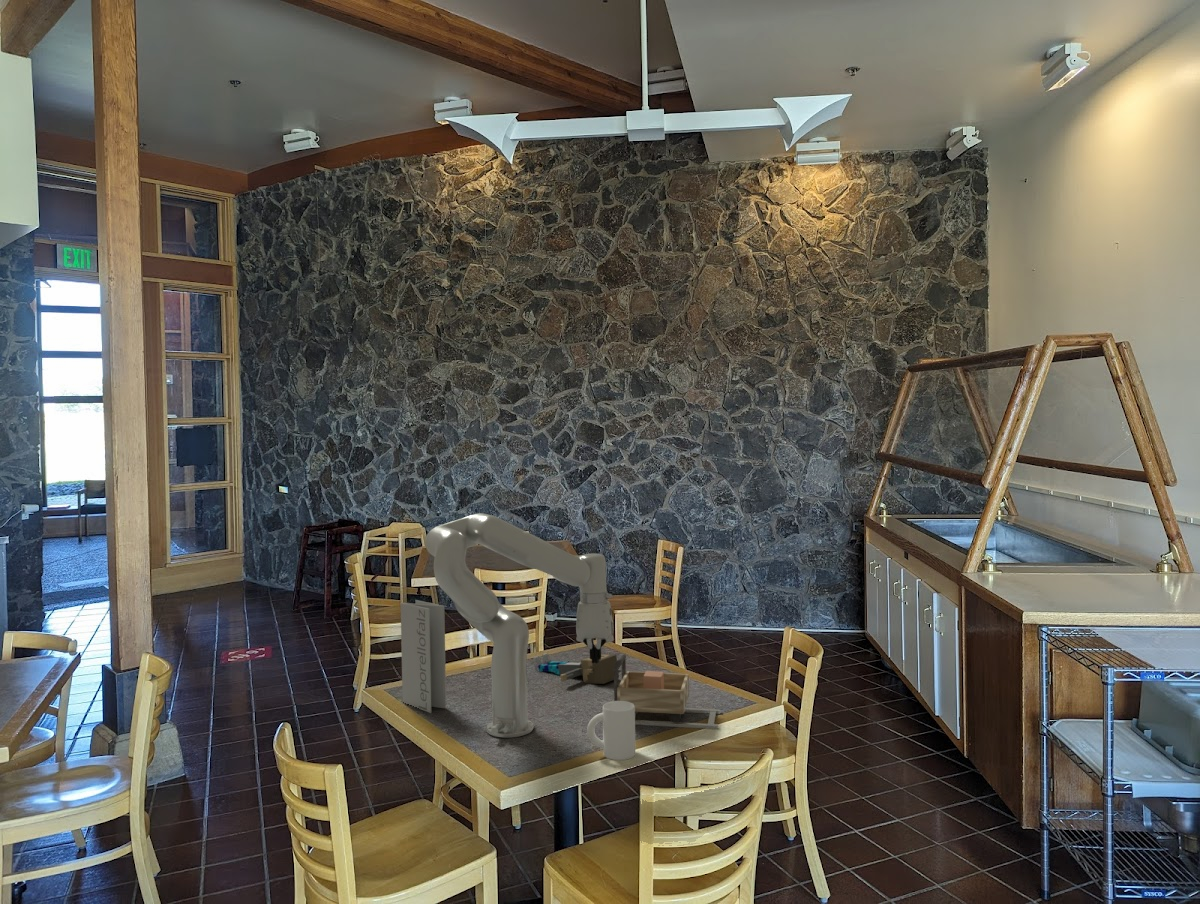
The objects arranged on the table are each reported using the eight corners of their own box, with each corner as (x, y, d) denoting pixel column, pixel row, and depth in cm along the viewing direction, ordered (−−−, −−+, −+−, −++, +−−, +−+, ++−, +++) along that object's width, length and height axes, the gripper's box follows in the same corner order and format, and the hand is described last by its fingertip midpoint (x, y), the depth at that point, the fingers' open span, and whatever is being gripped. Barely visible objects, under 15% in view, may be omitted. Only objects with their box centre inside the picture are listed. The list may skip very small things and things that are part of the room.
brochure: (402, 702, 244) (400, 602, 244) (418, 698, 248) (416, 599, 248) (430, 713, 235) (428, 609, 234) (446, 708, 239) (444, 606, 238)
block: (643, 701, 226) (643, 675, 226) (646, 695, 231) (646, 670, 231) (661, 702, 225) (661, 676, 225) (664, 696, 230) (663, 671, 230)
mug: (586, 748, 206) (586, 701, 206) (633, 746, 207) (633, 699, 207) (587, 761, 198) (587, 712, 198) (636, 759, 199) (636, 710, 198)
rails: (717, 729, 218) (717, 726, 218) (622, 723, 224) (622, 720, 223) (720, 712, 231) (720, 709, 231) (629, 707, 237) (629, 704, 237)
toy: (564, 647, 290) (632, 647, 271) (567, 669, 289) (635, 670, 271) (512, 664, 269) (582, 665, 251) (515, 687, 268) (585, 691, 250)
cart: (683, 724, 219) (682, 669, 219) (612, 721, 223) (611, 666, 222) (689, 705, 235) (688, 653, 234) (622, 702, 238) (621, 651, 238)
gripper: (621, 595, 233) (623, 658, 234) (570, 594, 236) (573, 657, 237) (617, 600, 226) (619, 666, 227) (564, 600, 229) (567, 665, 230)
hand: (595, 661), depth 232 cm, fingers closed
